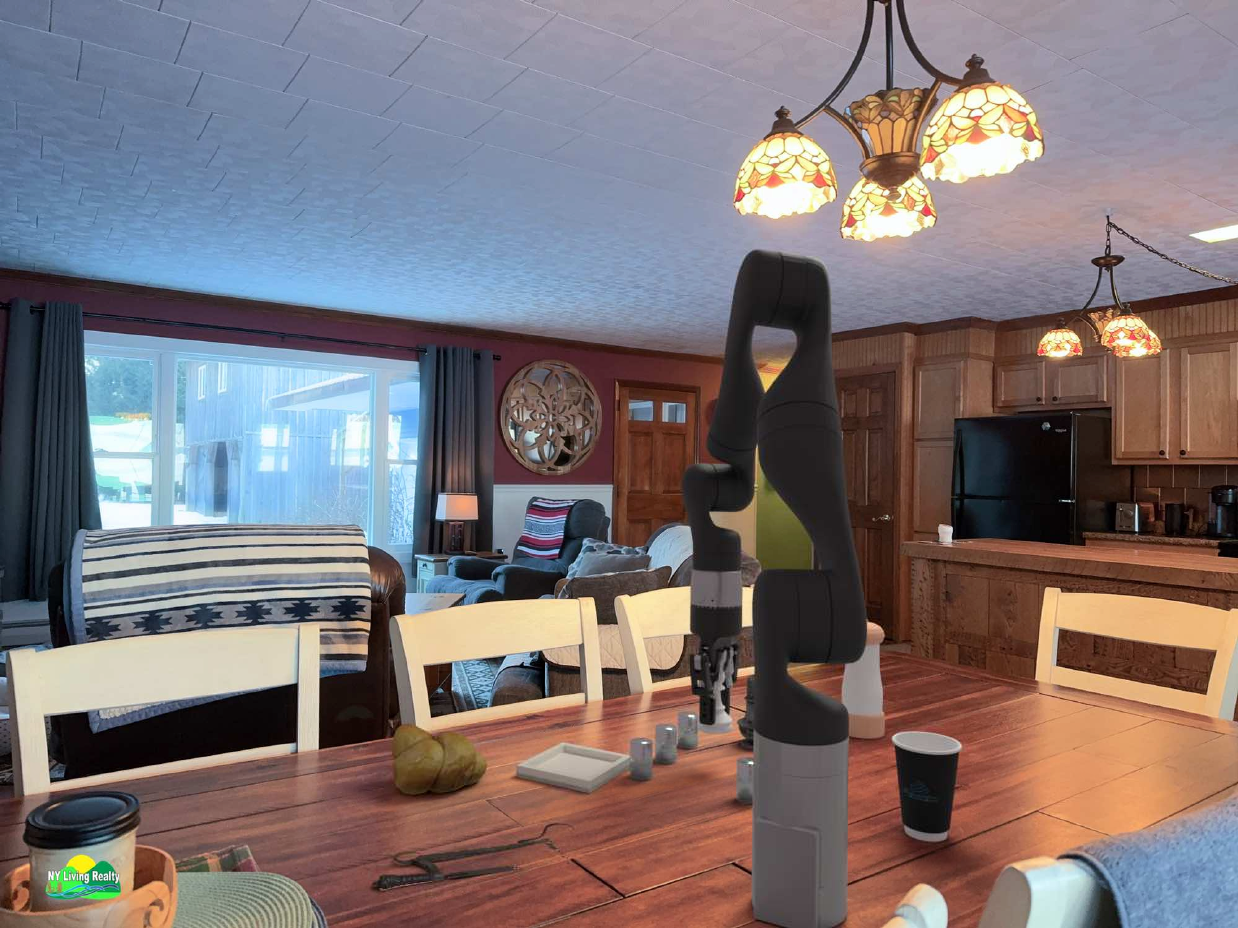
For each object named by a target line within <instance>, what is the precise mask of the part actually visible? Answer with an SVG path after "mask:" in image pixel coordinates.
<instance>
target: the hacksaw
mask: <svg viewBox="0 0 1238 928" xmlns="http://www.w3.org/2000/svg"><path fill="white" fill-rule="evenodd" d="M556 825H557V826H559V825H563V826H568V827H570V828H572V830H573V831H575V827H574V826H572V825H569V824H566V823H558V822H556V823H555V822H553V823H548V824H547V825H545V827H544V828H543V831H542V833H541V834H540V835H539V836H537V837H533V838H528V839H519V840H518V841H517V842H516V843H509V844H505V845H495V846H490V847H486V846H485V847H479V848H474V849H463V850H458V851H449V852H444V853H441V852H437V853H436V852H435V853H428V854H421V853H420V852H413V851H407V852H405V851H404V852H400V853H397V854H395V855H394V856H393V861H395V863H397V864H401V865H403V864H404V865H411V866H412V865H416V866H418V867H419V868H423V869H426V868H427V870H428V873H427V872H422V873H421V872H420V873H413V874H402V875H400V874H398V875H397V874H391V873H390V874H382V875H380V876H379V879H377V880H375V881H374V880H373V881H372V883H371V885H372V886H373V887H374V888H376V887H377V886H379V887H377V888H378V889H379V888H382V889H388V888H390V887H391V888H392V887H394V886H400V885H406V884H413V883H420V882H428V881H436V880H442V879H444V878H448V877H451V878H450V879H455V878H456V879H459V878H458V877H461V878H465V877H472V876H479V875H487V874H495V873H500V872H501V873H502V872H508V871H509V872H510V871H517V870H522V869H523V867H520V866H516V867H514V866H515V865H513V864H511V867H510V865H503V866H505V867H503V866H495V867H488V868H481V869H480V868H479V869H473V870H464V871H458V872H450V873H449V874H448V873H447V874H444V872H443V871H441V870H442V869H444V868H446V867H445V866H442V867H441V868H438V865H436V863H435V862H444V861H443V860H445V861H450V860H454V859H455V860H458V859H457V858H459V859H464V858H468V857H469V856H470V857H475V856H474V855H477V856H481V855H486V854H488V853H489V854H493V853H500V852H505V851H506V852H507V851H509V850H516V849H520V848H525V847H528V846H533V845H537V844H543V843H544V844H545V845H546V846H547V847H548V848H549V849H551V850H553V849H554V850H553V851H555V850H556V849H559V848H558V847H556V846H555V845H553V843H552V842H553V841H552V840H550V837H546V838H542V837H544V835H545V833H546V832H547V830H548V829H549V828H550V827H552V826H556ZM549 840H550V841H549ZM546 842H551V843H546ZM560 852H561V851H560V849H559V851H557V853H560ZM404 854H418V856H417V857H414V858H412V857H411V858H410V859H407V860H406V859H405V860H404V859H403V860H402V859H398V858H397V856H400V855H404ZM562 855H564V854H563V853H562V854H560V856H561V858H564V857H565V855H564V856H562ZM568 858H569V857H567V858H566V859H567V860H568ZM512 865H513V866H512ZM490 868H491V869H490ZM514 868H516V869H514ZM517 868H519V869H517ZM448 879H449V878H448ZM444 880H445V879H444Z"/></svg>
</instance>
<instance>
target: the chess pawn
mask: <svg viewBox="0 0 1238 928" xmlns="http://www.w3.org/2000/svg"><path fill="white" fill-rule="evenodd" d="M710 675H715V674H712V673H710ZM724 680H725V673H724V671H723V673H722V680H721V682H720V683H718V685H717V692H716V697H715V698H716V722H715V724H713V725H711V726H710V725H704V724H701V723H700V722H699V716H698V718H697V720H698V723H697V729H698V732H699V731H700V733H705V734H710V735H725V734H728V733H731V732H732V731H733V724H732V723H733V718H732V717H731V716H730V714H729V715H728V714H727V713H726V712H725V711H724V709H725V706H724V705H723V704H722V702H721V694H720V690H724V689H725V687H724V686H723V685H722V683H723V682H724ZM711 683H712V682H711Z"/></svg>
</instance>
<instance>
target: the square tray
mask: <svg viewBox="0 0 1238 928" xmlns="http://www.w3.org/2000/svg"><path fill="white" fill-rule="evenodd" d="M628 770H630V754H626V753H625V754H624V753H619V752H614V751H609V750H604V749H599V748H594V747H590V746H586V745H585V746H584V745H578V744H574V743H569V742H560V743H559V744H558V743H557V744H556V745H555V746H552V747H551V748H548V749H546V750H544V751H542V752H540V753H538V754H536V755H534V756H532V757H530V758H528V759H526V760H524V761H522V762H520V763H518V764H516V770H515V776H516V778H521V779H524V780H529V781H533V780H534V782H537V783H538V782H539V783H542V784H547V785H550V786H554V787H560V788H564V789H569V790H573V791H579V792H582V793H586V794H591V793H592V792H594V791H596V790H597V789H599V788H601V787H602V786H604V785H606V784H607V783H609V782H610V781H612V780H614V779H615V778H616V777H618V776H620V775H621V774H623V773H625V772H626V771H628Z"/></svg>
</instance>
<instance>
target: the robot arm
mask: <svg viewBox="0 0 1238 928" xmlns="http://www.w3.org/2000/svg"><path fill="white" fill-rule="evenodd" d="M741 262H742V263H741V265H740V267H739V270H738V273H737V276H736V281H735V285H734V290H733V296H732V301H731V308H730V314H729V321H728V327H727V335H726V342H725V347H724V356H723V363H722V372H721V379H720V386H719V390H718V391H719V392H718V395H717V400H716V404H715V407H714V411H713V414H712V417H711V421H710V425H709V428H708V432H707V435H706V441H705V447H706V451H707V453H708V454H709V455H710V456H711V457H712V458H714V459H715V460H716V461H719V462H721V463H704V462H703V463H700V462H699V463H698V462H697V463H693V464H691V465H689V466H688V467H687V468H686V469H685V471H684V473H683V474H682V478H681V481H680V484H681V485H680V489H681V490H680V492H681V497H682V500H683V503H684V508H685V511H686V514H687V519H688V524H689V528H690V533H691V541H692V570H691V571H692V573H691V580H690V588H689V589H690V591H689V592H690V596H689V597H690V599H689V600H690V602H689V603H690V605H689V608H690V609H689V613H690V614H689V632H691V635H694V636H698V638H699V639H700V640H699V644H698V645H699V646H698V651H697V654H695V653H690V655H689V658H688V662H689V663H688V664H689V674H690V685H691V694H692V695H693V696H697V697H698V698H699V705H698V706H699V710H698V711H699V713H698V717H699V722H700V723H701V724H704V725H710V726H711V725H713V724H715V722H716V698H715V697H716V692H717V685H718V683H720V682H721V680H722V673H723V671H724V673H725V680H724V682H723V683H722V685H723V686H724V687H725V689H724V690H720V694H721V702H722V704H723V705H724V706H725V709H724V711H725V712H726V713H727V714H728V715H729V716H730V715H731V714H730V713H731V690H732V689H733V686H734V685H733V684H736V683H737V681H738V671H739V660H740V651H741V650H740V649H741V644H740V642H737V641H736V642H735V641H732V638H735V637H736V638H737V637H739V636H741V634H742V632H743V596H744V595H743V579H742V538H741V535H740V533H739V532H738V531H736V530H734V529H730V528H725V527H721V526H719V525H716V524H715V523H714V521H713V519H712V517H711V513H713V512H714V513H739V512H742V511H743V510H745V509H747V508H748V506H750V505H751V503H752V501H753V500H754V496H755V459H756V450H757V455H758V462H759V466H760V468H761V471H762V474H763V475H764V477H765V479H766V481H767V482H768V483H769V484H770V486H771V487H772V488H773V490H774V491H775V493H776V494H777V495H778V497H779V498H780V499H781V500H782V501H783V502H784V504H785V505H786V506H787V508H789V510H790V511H791V512H792V513H793V515H794V516H795V517H796V518H797V520H798V521H799V522H800V524H801V525H802V527H803V528H804V530H805V531H806V533H807V534H808V536H809V539H810V541H811V542H812V544H813V547H814V550H815V551H816V555H817V558H818V560H819V563H820V564H819V565H820V568H821V569H818V568H817V569H815V568H814V569H813V568H812V569H811V568H810V569H809V568H767V569H764V570H762V571H760V572H759V574H758V575H757V577H756V578H755V580H754V584H753V587H752V588H753V589H752V599H751V600H752V601H751V616H752V617H751V620H752V621H751V622H752V639H753V667H754V668H753V669H754V670H753V674H754V750H752V751H753V757H752V758H753V804H752V823H751V824H752V825H751V826H752V828H751V834H752V835H751V838H752V839H751V846H752V847H751V904H752V907H753V919H756V920H760V921H762V922H767V923H770V924H774V925H777V926H781V927H784V928H833V927H836V926H838V925H840V924H841V923H842V922H844V921H845V919H846V917H847V916H848V915H847V914H848V849H849V848H848V845H849V844H848V843H849V842H848V839H849V838H848V837H849V830H848V829H849V823H848V822H849V762H850V760H849V757H850V756H849V754H850V753H849V752H850V748H849V747H850V745H849V744H850V736H849V714H848V711H847V708H846V707H845V705H844V704H842V701H840V700H839V699H836V698H835V697H833V696H831V695H827V694H825V693H822V692H819V691H817V690H814V689H812V688H810V687H808V686H806V685H804V684H803V683H800V682H799V681H797V680H796V679H795V678H793V677H792V676H791V675H790V674H789V671H788V666H789V664H792V663H793V664H811V665H812V664H818V665H823V664H825V665H829V664H830V665H833V664H834V665H845V664H849V663H854V662H856V661H858V660H859V659H860V658H861V657H862V655H863V653H864V650H865V646H866V641H867V620H868V617H867V607H866V606H867V605H866V599H865V593H864V588H863V587H864V586H863V583H862V577H861V573H860V571H861V570H860V566H859V562H858V556H857V551H856V546H855V541H854V535H853V530H852V524H851V518H850V512H849V511H850V510H849V504H848V503H849V502H848V494H847V493H848V492H847V482H846V481H847V480H846V466H845V456H844V455H845V454H844V442H843V434H842V433H843V432H842V425H841V415H840V410H839V404H838V397H837V390H836V382H835V381H836V380H835V372H834V364H833V363H834V362H833V350H832V349H833V348H832V347H833V346H832V344H833V343H832V342H833V341H832V291H831V280H830V275H829V270H828V268H827V266H826V264H825V262H823V261H822V260H821V259H819V258H817V257H813V256H809V255H805V254H799V253H798V254H795V253H790V252H784V251H779V250H778V251H776V250H772V249H763V248H762V249H761V248H756V249H753V250H751V251H750V252H748V253H747V254H746V255H745V257H744V259H743V260H742V261H741ZM757 326H759V327H766V328H773V329H778V330H779V329H780V330H784V331H785V330H788V331H792V332H793V333H794V334H795V337H796V349H795V351H794V352H793V354H792V356H791V358H790V359H789V361H788V362H787V364H786V365H785V366H784V368H782V370H781V371H780V373H779V374H778V375H777V376H776V378H775V379H774V380H773V382H772V383H771V384H770V386H769V387H768V388H767V390H765V387H764V385H763V381H762V379H761V375H760V373H759V370H758V367H757V365H756V360H755V357H754V353H753V337H754V331H755V328H756V327H757ZM710 673H712V674H715V675H710ZM711 682H712V683H711Z"/></svg>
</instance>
